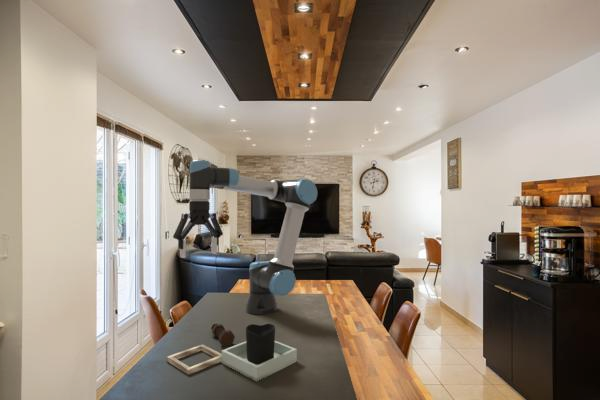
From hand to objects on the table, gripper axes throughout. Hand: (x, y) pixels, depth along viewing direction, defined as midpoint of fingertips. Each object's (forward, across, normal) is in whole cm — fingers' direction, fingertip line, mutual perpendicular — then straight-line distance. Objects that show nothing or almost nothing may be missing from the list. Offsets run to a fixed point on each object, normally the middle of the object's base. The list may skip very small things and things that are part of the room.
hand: (199, 255), depth 131 cm
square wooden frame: (+31, +12, +18) cm, 38 cm away
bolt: (+31, -4, +9) cm, 33 cm away
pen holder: (+30, -2, +34) cm, 45 cm away
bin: (+31, -1, +34) cm, 46 cm away
